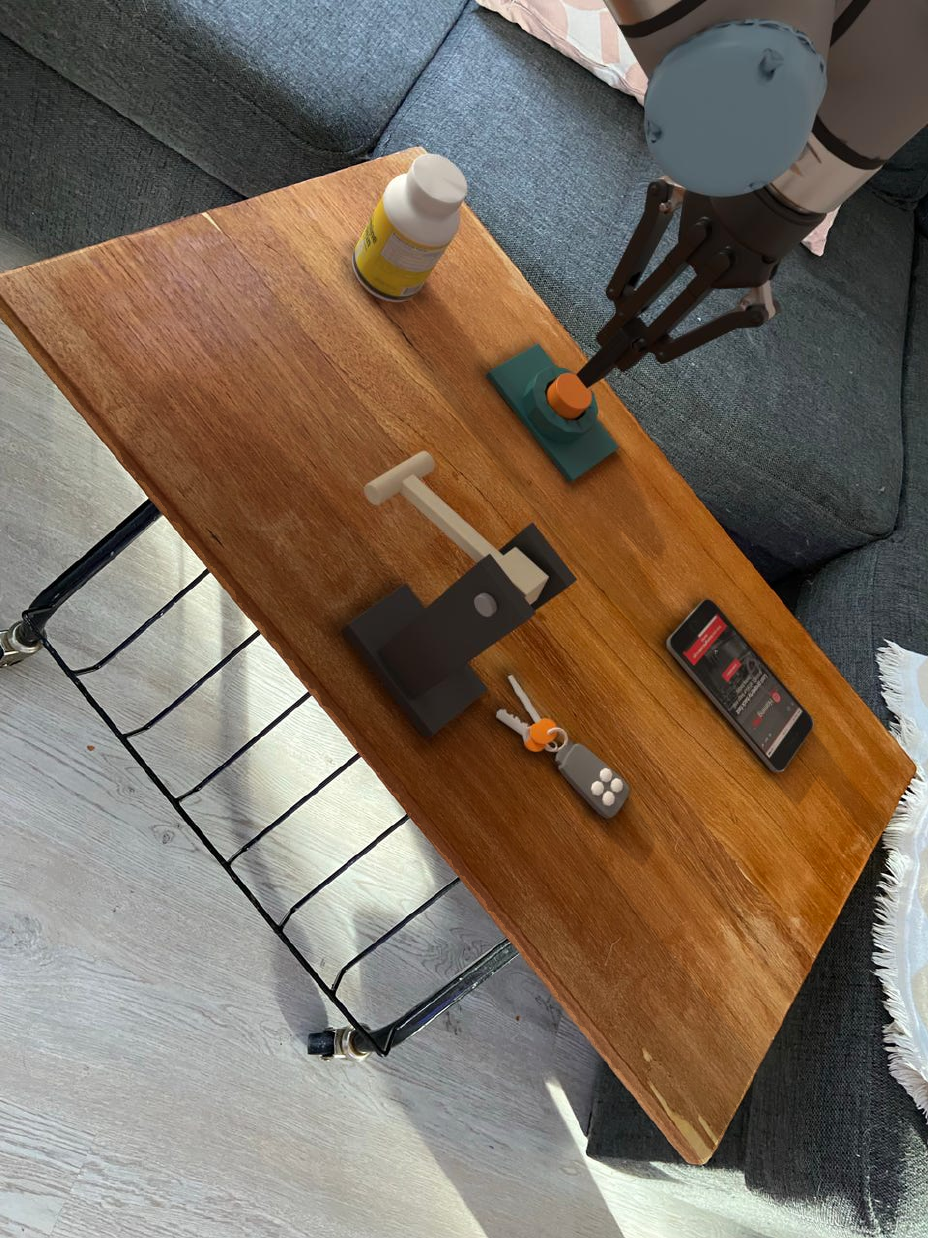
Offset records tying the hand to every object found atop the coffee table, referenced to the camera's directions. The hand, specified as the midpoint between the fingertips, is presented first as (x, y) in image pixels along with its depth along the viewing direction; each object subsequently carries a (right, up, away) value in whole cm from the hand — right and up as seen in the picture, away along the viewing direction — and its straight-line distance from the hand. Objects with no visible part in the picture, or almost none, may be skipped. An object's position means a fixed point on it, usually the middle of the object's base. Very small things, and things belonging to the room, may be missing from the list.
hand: (591, 375), depth 82 cm
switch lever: (-11, -16, -21) cm, 29 cm away
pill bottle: (-18, +9, +3) cm, 20 cm away
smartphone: (+13, -26, +4) cm, 30 cm away
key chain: (-4, -30, -7) cm, 31 cm away
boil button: (-2, -1, +3) cm, 4 cm away
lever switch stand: (-15, -24, -10) cm, 30 cm away
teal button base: (-3, -2, +5) cm, 6 cm away
